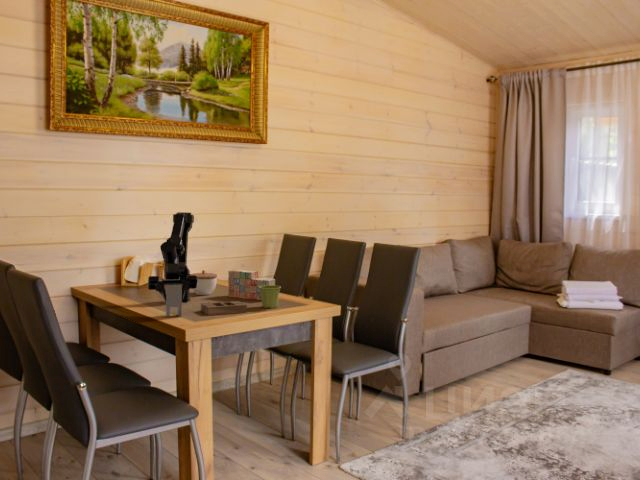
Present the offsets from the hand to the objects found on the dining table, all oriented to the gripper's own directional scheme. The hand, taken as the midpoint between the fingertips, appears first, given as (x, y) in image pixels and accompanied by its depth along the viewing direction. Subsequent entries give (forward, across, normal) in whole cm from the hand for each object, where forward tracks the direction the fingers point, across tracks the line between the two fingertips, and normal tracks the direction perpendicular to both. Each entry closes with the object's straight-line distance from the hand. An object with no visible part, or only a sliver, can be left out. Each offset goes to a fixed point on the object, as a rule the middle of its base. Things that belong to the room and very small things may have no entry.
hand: (173, 299), depth 248 cm
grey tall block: (+4, 0, +6) cm, 7 cm away
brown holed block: (0, +20, +9) cm, 22 cm away
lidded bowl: (-31, +17, +41) cm, 54 cm away
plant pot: (-4, +41, +14) cm, 43 cm away
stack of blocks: (-21, +37, +30) cm, 52 cm away
